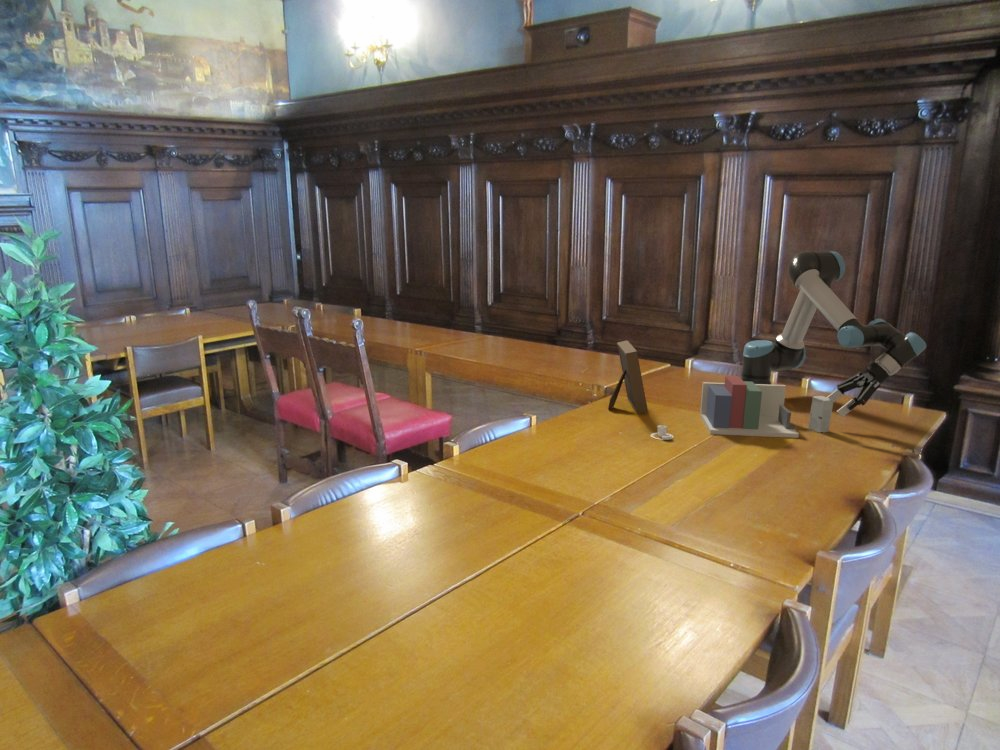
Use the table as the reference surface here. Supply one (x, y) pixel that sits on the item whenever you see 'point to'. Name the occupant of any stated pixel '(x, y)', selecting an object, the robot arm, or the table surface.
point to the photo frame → (630, 378)
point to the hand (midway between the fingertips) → (832, 408)
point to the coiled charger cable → (662, 433)
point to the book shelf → (765, 413)
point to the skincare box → (820, 414)
